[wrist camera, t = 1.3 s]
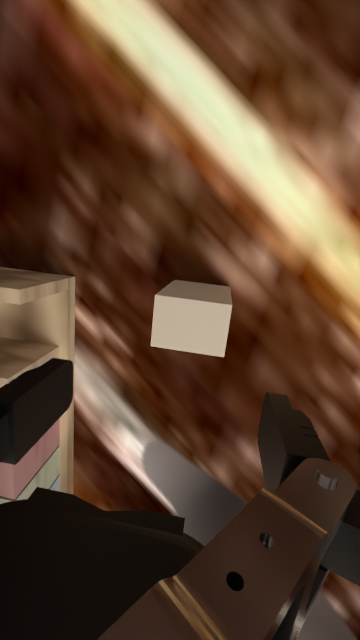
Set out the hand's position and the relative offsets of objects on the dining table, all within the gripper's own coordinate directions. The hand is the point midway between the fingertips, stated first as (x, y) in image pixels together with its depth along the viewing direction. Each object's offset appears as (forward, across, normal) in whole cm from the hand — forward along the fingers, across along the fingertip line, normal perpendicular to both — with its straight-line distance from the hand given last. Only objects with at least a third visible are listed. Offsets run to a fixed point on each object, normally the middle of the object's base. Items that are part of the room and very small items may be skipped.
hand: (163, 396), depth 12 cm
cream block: (+19, 0, 0) cm, 19 cm away
